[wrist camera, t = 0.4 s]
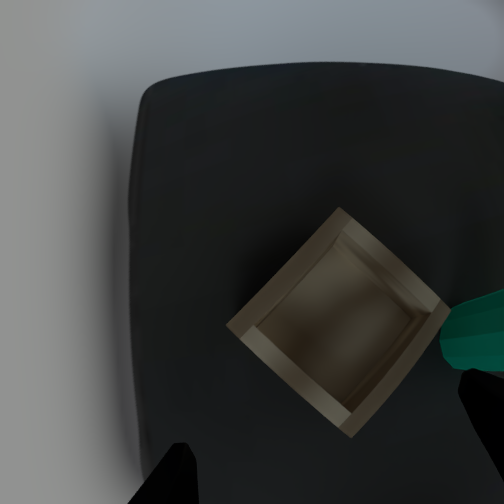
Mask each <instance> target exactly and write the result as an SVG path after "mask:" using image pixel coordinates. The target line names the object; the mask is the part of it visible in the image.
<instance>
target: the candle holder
mask: <svg viewBox="0 0 504 504" xmlns="http://www.w3.org/2000/svg"><path fill="white" fill-rule="evenodd" d="M450 312H451V309H450V308H449V307H448V306H447V305H446V304H445V303H444V302H443V301H442V300H441V299H440V298H439V297H438V296H437V295H436V294H435V293H434V292H433V291H432V290H431V289H430V288H429V287H428V286H427V285H426V284H425V283H424V282H423V281H422V280H421V279H420V278H419V277H418V276H417V275H415V274H414V273H413V272H412V271H411V270H410V269H409V268H408V267H407V266H406V265H405V264H404V263H403V262H402V261H401V260H399V259H398V258H397V257H396V256H395V255H394V254H393V253H392V252H391V251H390V250H389V249H387V248H386V247H385V246H384V245H383V244H382V243H381V242H380V241H379V240H377V239H376V238H375V237H374V236H373V235H372V234H371V233H369V232H368V231H367V230H366V229H365V228H364V227H363V226H361V225H360V224H359V223H358V222H357V221H356V220H354V219H353V218H352V217H351V216H350V215H348V214H347V213H346V212H345V211H344V210H342V209H341V208H340V207H338V208H337V209H336V211H335V212H334V213H333V214H332V215H331V216H330V217H329V218H328V219H327V220H326V221H325V222H324V223H323V225H322V226H321V227H320V228H319V229H318V230H317V231H316V232H315V233H314V234H313V235H312V236H311V237H310V238H309V240H308V241H307V242H306V243H305V244H304V245H303V246H302V247H301V248H300V249H299V250H298V251H297V252H296V253H295V254H294V255H293V256H292V257H291V259H290V260H289V261H288V262H287V263H286V264H285V265H284V266H283V267H282V268H281V269H280V270H279V271H278V272H277V273H276V274H275V275H274V276H273V277H272V278H271V279H270V280H269V281H268V283H267V284H266V285H265V286H264V287H263V288H262V289H261V290H260V291H259V292H258V293H257V294H256V295H255V296H254V297H253V298H252V299H251V300H250V301H249V302H248V303H247V304H246V305H245V306H244V307H243V308H242V309H241V310H240V311H239V312H238V313H237V314H236V315H235V316H234V317H233V318H232V319H231V320H230V321H229V322H228V323H227V324H226V326H227V327H228V328H229V329H230V330H231V331H232V332H233V333H234V334H235V335H236V336H237V337H238V338H239V339H240V340H241V341H242V342H243V343H244V344H245V345H246V346H247V347H249V348H250V349H251V350H252V351H253V352H254V353H255V354H256V355H257V356H258V357H259V358H260V359H261V360H262V361H263V362H264V363H265V364H267V365H268V366H269V367H270V368H271V369H272V370H273V371H274V372H275V373H276V374H277V375H278V376H280V377H281V378H282V379H283V380H284V381H285V382H286V383H287V384H288V385H290V386H291V387H292V388H293V389H294V390H295V391H296V392H297V393H298V394H300V395H301V396H302V397H303V398H304V399H305V400H306V401H308V402H309V403H310V404H311V405H312V406H313V407H314V408H316V409H317V410H318V411H319V412H320V413H321V414H323V415H324V416H325V417H326V418H327V419H328V420H330V421H331V422H332V423H333V424H334V425H336V426H337V427H338V428H339V429H340V430H342V431H343V432H344V433H345V434H346V435H348V436H349V437H350V438H352V437H353V436H354V435H355V434H356V433H357V432H358V431H359V430H360V428H361V427H362V426H363V425H364V424H365V423H366V422H367V421H368V420H369V419H370V418H371V417H372V415H373V414H374V413H375V412H376V411H377V410H378V409H379V408H380V406H381V405H382V404H383V403H384V402H385V401H386V399H387V398H388V397H389V396H390V395H391V394H392V392H393V391H394V390H395V389H396V387H397V386H398V385H399V384H400V382H401V381H402V380H403V379H404V377H405V376H406V375H407V374H408V372H409V371H410V370H411V368H412V367H413V366H414V364H415V363H416V362H417V360H418V359H419V358H420V356H421V355H422V354H423V352H424V351H425V349H426V348H427V346H428V345H429V344H430V342H431V341H432V339H433V338H434V336H435V335H436V333H437V332H438V330H439V329H440V327H441V326H442V324H443V323H444V321H445V320H446V318H447V317H448V315H449V313H450Z"/></svg>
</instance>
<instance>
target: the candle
mask: <svg viewBox="0 0 504 504" xmlns="http://www.w3.org/2000/svg"><path fill="white" fill-rule="evenodd" d="M439 341H440V345H441V349H442V354H443V357H444V359H445V360H446V361H447V362H448V363H449V364H450V365H451V366H452V367H453V368H455V369H461V370H468V369H470V368H476V369H478V370H481V371H504V289H501V290H499V291H496V292H493V293H490V294H487V295H484V296H481V297H478V298H475V299H472V300H469V301H466V302H463V303H461V304H459V305H457V306H455V307H453V308H451V312H450V313H449V315H448V317H447V318H446V320H445V321H444V323H443V324H442V327H441V333H440V338H439Z"/></svg>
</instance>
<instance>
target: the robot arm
mask: <svg viewBox="0 0 504 504" xmlns="http://www.w3.org/2000/svg"><path fill="white" fill-rule="evenodd" d="M458 394H459V397H460V399H461V401H462V403H463V405H464V407H465V410H466V412H467V414H468V416H469V418H470V421H471V423H472V425H473V427H474V429H475V431H476V432H477V434H478V436H479V438H480V439H481V441H482V443H483V445H484V446H485V448H486V450H487V452H488V453H489V455H490V457H491V459H492V461H493V462H494V464H495V466H496V468H497V470H498V472H499V473H500V475H501V477H502V479H503V481H504V379H502V378H500V377H497V376H494V375H491V374H489V373H486V372H484V371H481V370H478V369H476V368H470V369H468V370H466V371H464V372H463V373H462V376H461V380H460V384H459V387H458ZM128 504H199V496H198V480H197V463H196V458H195V456H194V454H193V452H192V451H191V449H190V447H189V445H188V444H187V443H174V444H173V445H172V446H171V447H170V449H169V450H168V451H167V453H166V454H165V455H164V457H163V458H162V459H161V461H160V462H159V463H158V465H157V466H156V467H155V469H154V470H153V471H152V473H151V474H150V475H149V477H148V478H147V479H146V480H145V482H144V483H143V484H142V486H141V487H140V488H139V490H138V491H137V492H136V493H135V495H134V496H133V497H132V499H131V500H130V501H129V502H128Z"/></svg>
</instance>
